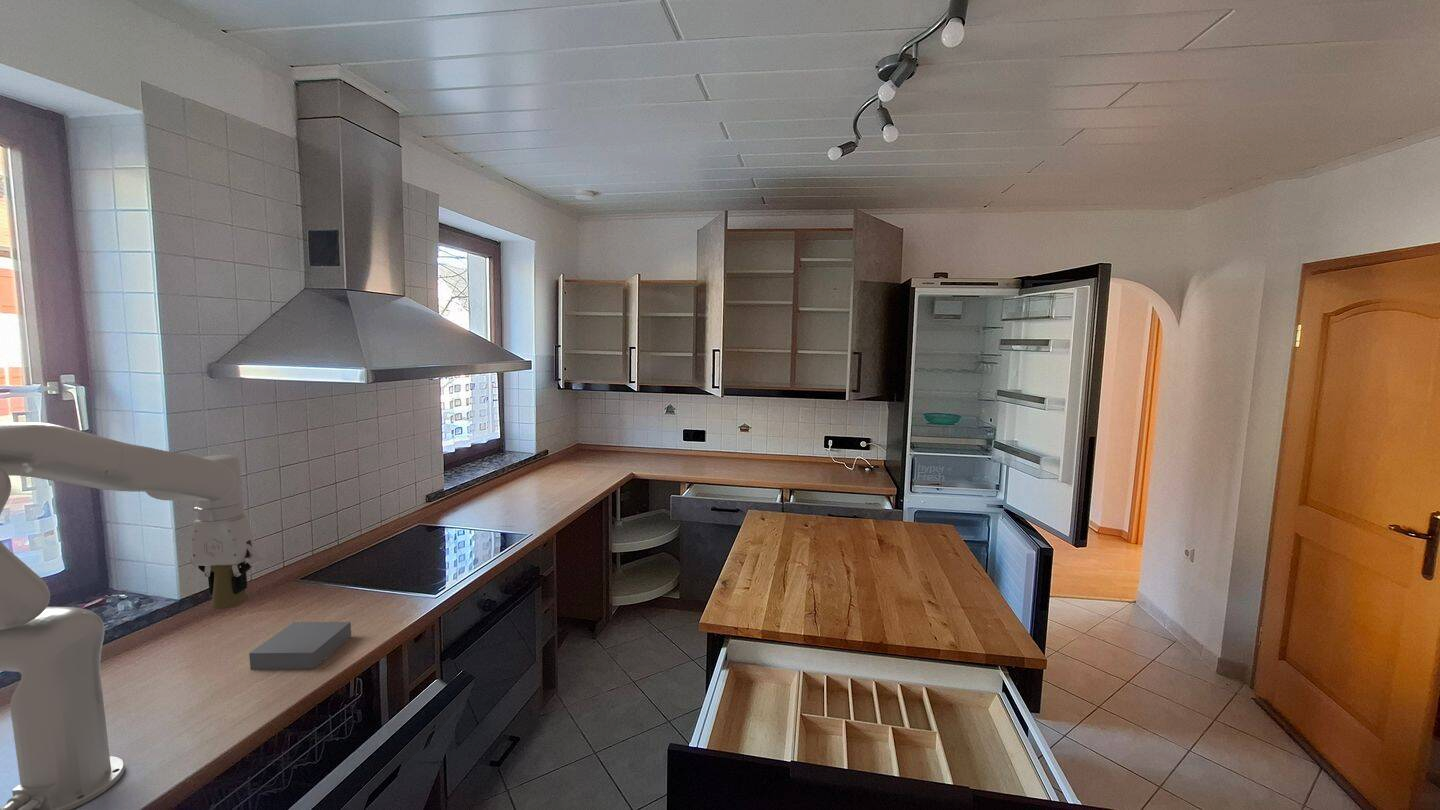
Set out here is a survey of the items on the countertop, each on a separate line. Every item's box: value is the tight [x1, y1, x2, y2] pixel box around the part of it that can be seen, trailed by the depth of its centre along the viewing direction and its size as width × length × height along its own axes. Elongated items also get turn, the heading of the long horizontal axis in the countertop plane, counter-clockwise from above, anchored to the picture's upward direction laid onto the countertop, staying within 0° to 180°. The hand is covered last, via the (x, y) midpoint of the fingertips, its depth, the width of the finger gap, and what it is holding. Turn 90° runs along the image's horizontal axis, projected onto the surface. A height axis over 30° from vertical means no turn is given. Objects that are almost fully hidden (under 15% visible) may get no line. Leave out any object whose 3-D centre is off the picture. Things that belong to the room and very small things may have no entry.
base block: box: [248, 621, 352, 671], centre depth 133 cm, size 14×14×4 cm
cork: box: [210, 563, 248, 610], centre depth 122 cm, size 6×6×11 cm
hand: (228, 590), depth 122 cm, fingers closed on cork, 4 cm apart
